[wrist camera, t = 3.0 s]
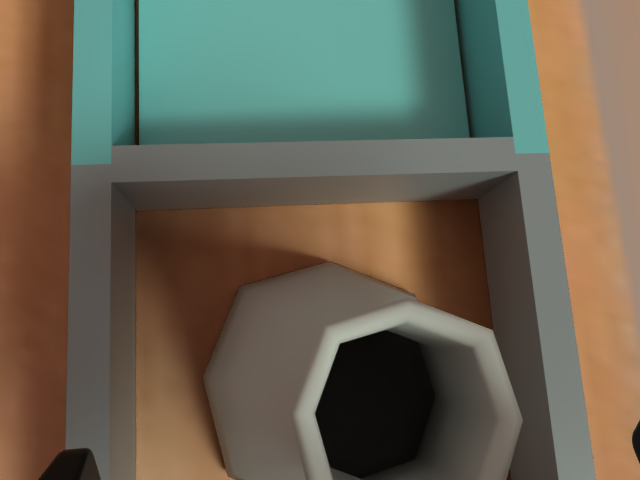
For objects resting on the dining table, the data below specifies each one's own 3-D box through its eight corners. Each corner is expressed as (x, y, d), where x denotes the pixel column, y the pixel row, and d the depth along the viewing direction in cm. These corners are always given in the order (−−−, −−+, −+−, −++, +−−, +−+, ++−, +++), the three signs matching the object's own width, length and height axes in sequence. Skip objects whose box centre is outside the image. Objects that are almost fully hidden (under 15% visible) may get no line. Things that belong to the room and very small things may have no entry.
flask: (441, 509, 17) (686, 720, 7) (194, 507, 16) (99, 737, 7) (440, 268, 18) (643, 174, 9) (212, 257, 18) (156, 140, 8)
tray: (557, 593, 17) (619, 643, 14) (97, 647, 15) (59, 715, 12) (464, -138, 22) (496, -215, 19) (105, -150, 20) (78, -236, 17)
